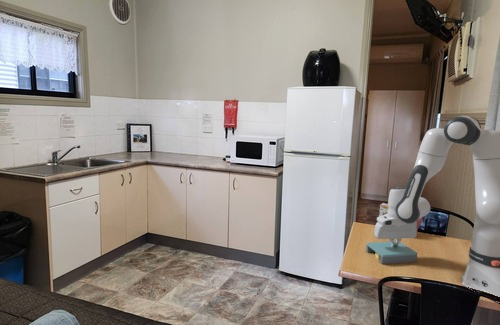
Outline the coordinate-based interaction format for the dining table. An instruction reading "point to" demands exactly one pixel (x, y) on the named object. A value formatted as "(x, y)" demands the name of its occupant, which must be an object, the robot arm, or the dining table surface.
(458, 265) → the dining table surface
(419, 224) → the light bulb
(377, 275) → the dining table surface
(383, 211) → the candy bar box
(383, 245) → the panel
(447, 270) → the dining table surface
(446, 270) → the dining table surface
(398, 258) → the pair of grey bars
